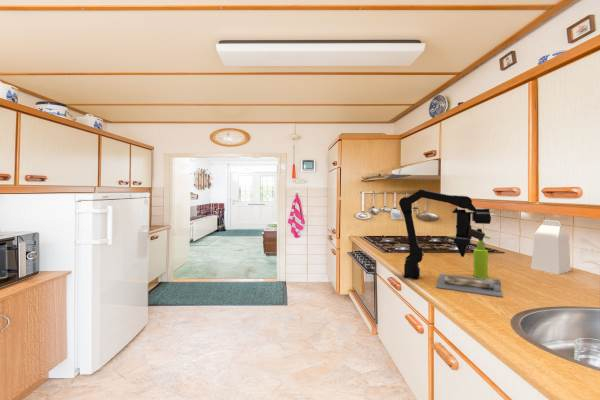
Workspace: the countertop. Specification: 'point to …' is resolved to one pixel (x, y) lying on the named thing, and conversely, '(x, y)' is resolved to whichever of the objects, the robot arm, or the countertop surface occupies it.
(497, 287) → the block
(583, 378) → the countertop surface
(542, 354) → the countertop surface
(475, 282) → the link
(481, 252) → the soap dispenser
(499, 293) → the board
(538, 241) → the milk
